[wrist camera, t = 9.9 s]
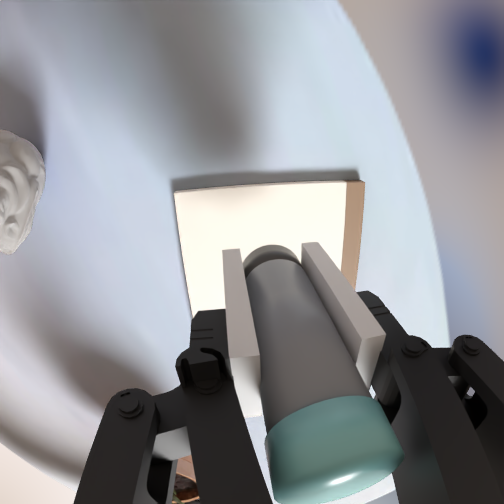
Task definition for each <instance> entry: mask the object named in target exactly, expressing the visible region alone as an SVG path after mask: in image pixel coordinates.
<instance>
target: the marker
mask: <svg viewBox="0 0 504 504" xmlns="http://www.w3.org/2000/svg"><path fill="white" fill-rule="evenodd" d="M242 264H243V269H244V275H245V280H246V285H247V291H248V296H249V301H250V307H251V312H252V317H253V322H254V328H255V333H256V338H257V343H258V348H259V354H260V371H261V384H260V390H259V392H260V398H261V404H262V409H263V415H264V421H265V426H266V432H267V436H266V438H265V443H264V444H265V450H266V456H267V462H268V467H269V473H270V479H271V484H272V490H273V495H274V499H275V500H276V501H277V502H278V503H281V504H321V503H326V502H330V501H334V500H338V499H341V498H344V497H347V496H350V495H352V494H355V493H357V492H360V491H362V490H364V489H366V488H368V487H370V486H372V485H374V484H376V483H378V482H379V481H381V480H382V479H384V478H385V477H387V476H388V475H390V474H391V473H392V472H393V471H394V470H395V469H397V468H398V466H399V465H400V464H401V463H402V461H403V460H404V457H405V454H404V451H403V449H402V447H401V445H400V443H399V441H398V439H397V437H396V435H395V433H394V431H393V429H392V427H391V425H390V423H389V421H388V419H387V417H386V415H385V413H384V411H383V409H382V407H381V405H380V404H379V402H378V401H376V400H375V399H373V398H372V396H371V394H370V392H369V390H368V388H367V386H366V384H365V383H364V381H363V379H362V377H361V375H360V373H359V371H358V369H357V367H356V365H355V363H354V361H353V359H352V357H351V355H350V353H349V352H348V350H347V348H346V346H345V344H344V342H343V340H342V338H341V336H340V334H339V333H338V331H337V329H336V327H335V325H334V323H333V321H332V320H331V318H330V316H329V314H328V312H327V310H326V308H325V307H324V305H323V303H322V301H321V299H320V297H319V296H318V294H317V292H316V290H315V288H314V287H313V285H312V283H311V281H310V279H309V278H308V276H307V274H306V272H305V270H304V269H303V267H302V265H301V263H300V261H299V260H298V258H297V256H296V255H295V254H294V253H293V252H292V251H291V250H290V249H288V248H286V247H284V246H281V245H265V246H262V247H259V248H257V249H255V250H254V251H252V252H251V253H250V254H249V255H248V256H247V257H246V258H245V260H244V261H243V263H242Z"/></svg>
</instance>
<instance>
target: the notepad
mask: <svg viewBox="0 0 504 504" xmlns="http://www.w3.org/2000/svg"><path fill="white" fill-rule="evenodd" d="M364 193H365V182H363V181H361V180H339V181H305V182H282V183H264V184H249V185H235V186H223V187H211V188H200V189H190V190H180V191H175V193H174V197H175V206H176V214H177V221H178V228H179V236H180V243H181V249H182V256H183V262H184V269H185V275H186V281H187V287H188V293H189V298H190V304H191V309H192V315H193V317H194V316H195V315H196V313H197V312H198V311H202V310H214V309H226V308H225V292H224V276H223V258H222V250H227V249H238V248H240V253H241V258H242V263H243V261H244V260H245V258H246V257H247V256H248V255H249V254H250V253H251V252H252V251H254V250H255V249H257V248H259V247H262V246H265V245H281V246H284V247H286V248H288V249H290V250H291V251H292V252H293V253H294V254H295V255H296V256H297V258H298V260H299V261H300V263H301V244H302V243H308V242H318V243H319V244H320V245H321V246H322V248H323V249H324V250H325V252H326V253H327V254H328V255H329V257H330V258H331V259H332V261H333V262H334V263H335V265H336V266H337V267H338V269H339V270H340V271H341V273H342V274H343V275H344V277H345V278H346V279H347V281H348V282H349V283H350V285H351V286H352V287H353V289H354V290H355V286H356V278H357V270H358V262H359V253H360V243H361V233H362V221H363V208H364Z"/></svg>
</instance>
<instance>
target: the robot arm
mask: <svg viewBox="0 0 504 504" xmlns="http://www.w3.org/2000/svg"><path fill="white" fill-rule="evenodd" d="M222 258H223V276H224V292H225V308H226V309H214V310H202V311H198V312H197V313H196V315H195V316H194V317H193V319H192V322H191V334H190V347H189V348H188V349H187V350H185V351H183V352H182V353H181V354H180V355H179V357H178V358H177V360H176V365H175V367H176V371H177V374H178V377H179V380H180V385H179V386H178V387H177V388H175V389H174V390H171V391H169V392H166V393H163V394H159V395H156V396H151V395H150V394H149V393H147V392H146V391H145V390H141V389H137V388H134V389H126V390H123V391H120V392H118V393H117V394H116V395H114V396H113V397H112V398H111V400H110V401H109V403H108V404H107V407H106V409H105V412H104V415H103V417H102V420H101V423H100V425H99V428H98V431H97V434H96V436H95V439H94V442H93V445H92V448H91V450H90V453H89V456H88V459H87V462H86V465H85V468H84V471H83V474H82V477H81V481H80V484H79V487H78V490H77V493H76V497H75V500H74V504H172V497H173V490H174V483H175V476H176V470H177V463H178V459H179V458H182V457H186V456H189V455H191V456H192V462H193V468H194V473H195V479H196V484H197V489H198V494H199V499H200V502H198V501H190V502H184V504H273V503H272V500H271V497H270V494H269V491H268V489H267V486H266V483H265V480H264V477H263V474H262V471H261V468H260V465H259V462H258V459H257V456H256V453H255V450H254V447H253V444H252V441H251V438H250V435H249V432H248V429H247V425H246V422H245V419H244V418H248V417H257V416H262V404H261V398H260V392H259V390H260V384H261V371H260V354H259V348H258V343H257V338H256V333H255V328H254V322H253V317H252V312H251V307H250V301H249V296H248V291H247V285H246V280H245V275H244V269H243V264H242V258H241V253H240V248H238V249H227V250H222ZM301 265H302V267H303V269H304V270H305V272H306V274H307V276H308V278H309V279H310V281H311V283H312V285H313V287H314V288H315V290H316V292H317V294H318V296H319V297H320V299H321V301H322V303H323V305H324V307H325V308H326V310H327V312H328V314H329V316H330V318H331V320H332V321H333V323H334V325H335V327H336V329H337V331H338V333H339V334H340V336H341V338H342V340H343V342H344V344H345V346H346V348H347V350H348V352H349V353H350V355H351V357H352V359H353V361H354V363H355V365H356V367H357V369H358V371H359V373H360V375H361V377H362V379H363V381H364V383H365V384H366V386H367V388H368V390H370V387H371V385H372V387H373V389H374V391H375V393H376V395H375V398H374V399H375V400H376V401H378V402H379V404H380V405H381V407H382V409H383V411H384V413H385V415H386V417H387V419H388V421H389V423H390V425H391V427H392V429H393V431H394V433H395V435H396V437H397V439H398V441H399V443H400V445H401V447H402V449H403V451H404V454H405V457H404V460H403V461H402V463H401V464H400V465H399V466H398V468H397V469H395V470H394V471H393V472H392V475H393V479H394V483H395V487H396V491H397V496H398V500H399V504H504V361H503V360H502V359H500V358H499V357H498V356H497V355H496V354H495V353H494V352H493V351H492V350H491V349H490V348H489V347H488V346H487V345H486V344H485V343H483V341H481V340H480V339H478V338H477V337H474V336H471V335H461V336H458V337H457V338H456V339H455V340H454V342H453V345H452V347H451V348H432V347H431V346H430V345H429V344H428V343H427V341H425V340H423V339H422V338H420V337H416V336H413V335H408V334H407V333H406V331H405V330H404V329H403V328H402V326H401V325H400V324H399V322H398V321H397V320H396V319H395V317H394V316H393V315H392V314H391V313H390V311H389V310H388V308H387V307H385V305H384V303H383V302H382V301H381V300H380V299H379V297H377V296H376V295H374V294H373V293H371V292H369V291H362V292H356V291H355V290H354V289H353V287H352V286H351V285H350V283H349V282H348V281H347V279H346V278H345V277H344V275H343V274H342V273H341V271H340V270H339V269H338V267H337V266H336V265H335V263H334V262H333V261H332V259H331V258H330V257H329V255H328V254H327V253H326V252H325V250H324V249H323V248H322V246H321V245H320V244H319V243H318V242H308V243H302V244H301ZM470 387H472V388H473V389H474V390H475V393H474V395H473V396H469V395H468V394H467V392H468V390H469V388H470ZM173 504H178V503H173Z"/></svg>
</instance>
